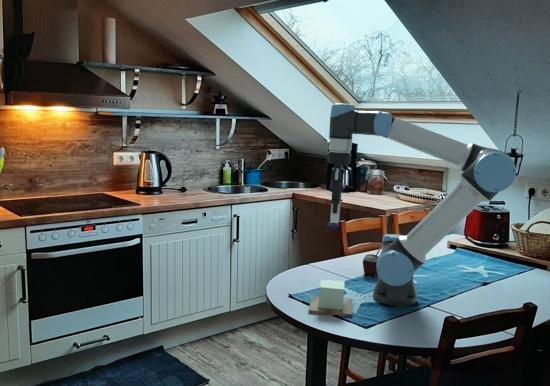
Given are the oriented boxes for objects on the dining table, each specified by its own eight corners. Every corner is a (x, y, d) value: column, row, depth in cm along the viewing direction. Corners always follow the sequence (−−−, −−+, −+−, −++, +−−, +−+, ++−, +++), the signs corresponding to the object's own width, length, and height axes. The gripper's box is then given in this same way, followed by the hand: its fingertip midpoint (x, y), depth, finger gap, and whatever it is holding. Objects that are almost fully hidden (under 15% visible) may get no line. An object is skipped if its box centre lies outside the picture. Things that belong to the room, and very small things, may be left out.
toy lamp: (332, 225, 185) (336, 176, 183) (343, 227, 182) (347, 178, 180) (324, 227, 182) (327, 177, 179) (335, 229, 179) (339, 179, 176)
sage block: (343, 301, 186) (344, 281, 185) (342, 309, 178) (344, 289, 177) (319, 299, 187) (320, 279, 186) (318, 307, 179) (319, 287, 178)
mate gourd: (358, 273, 221) (361, 237, 219) (376, 271, 224) (379, 236, 221) (367, 278, 214) (370, 241, 212) (385, 277, 217) (388, 241, 214)
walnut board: (351, 301, 189) (352, 298, 188) (352, 317, 175) (352, 314, 175) (311, 297, 190) (311, 295, 190) (308, 313, 177) (308, 310, 177)
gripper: (330, 148, 186) (325, 215, 190) (325, 152, 171) (320, 225, 175) (352, 150, 185) (347, 217, 189) (349, 154, 169) (344, 227, 173)
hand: (334, 221), depth 182 cm, fingers closed on toy lamp, 3 cm apart
